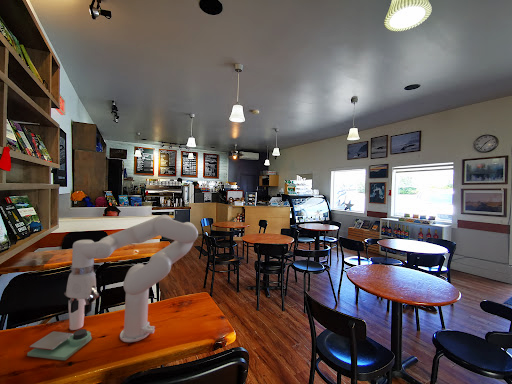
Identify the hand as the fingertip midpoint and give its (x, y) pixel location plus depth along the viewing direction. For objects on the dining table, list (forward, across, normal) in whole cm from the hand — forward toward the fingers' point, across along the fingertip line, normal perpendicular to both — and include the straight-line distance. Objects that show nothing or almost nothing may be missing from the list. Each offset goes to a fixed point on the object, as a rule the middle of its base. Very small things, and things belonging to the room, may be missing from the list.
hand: (81, 311), depth 100 cm
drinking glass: (+14, -10, +10) cm, 20 cm away
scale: (+13, -5, -4) cm, 15 cm away
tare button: (+11, 0, 0) cm, 11 cm away
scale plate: (+10, -8, -4) cm, 14 cm away
